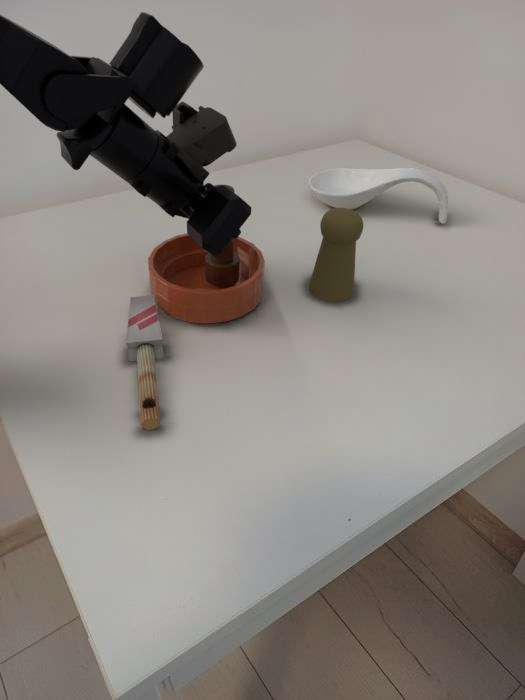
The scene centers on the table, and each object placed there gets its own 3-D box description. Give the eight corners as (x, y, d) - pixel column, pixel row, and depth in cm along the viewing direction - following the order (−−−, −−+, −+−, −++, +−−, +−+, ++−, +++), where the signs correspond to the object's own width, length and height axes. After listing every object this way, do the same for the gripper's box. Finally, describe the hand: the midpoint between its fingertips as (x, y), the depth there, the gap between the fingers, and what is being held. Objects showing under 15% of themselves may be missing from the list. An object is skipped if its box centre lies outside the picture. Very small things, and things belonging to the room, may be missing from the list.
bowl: (138, 319, 62) (133, 285, 59) (168, 258, 73) (165, 226, 69) (254, 333, 61) (256, 298, 58) (267, 269, 72) (270, 237, 68)
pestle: (218, 290, 65) (217, 201, 57) (198, 274, 67) (195, 186, 59) (246, 280, 67) (249, 192, 59) (226, 264, 69) (226, 178, 61)
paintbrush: (157, 285, 62) (169, 413, 48) (159, 302, 64) (171, 431, 50) (124, 287, 61) (127, 418, 47) (127, 305, 63) (130, 435, 49)
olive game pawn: (306, 298, 67) (316, 221, 60) (311, 273, 72) (321, 199, 64) (352, 305, 66) (368, 228, 59) (354, 279, 71) (369, 205, 64)
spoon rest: (300, 210, 86) (304, 168, 81) (313, 183, 94) (318, 143, 90) (445, 235, 82) (458, 193, 77) (445, 205, 90) (457, 164, 86)
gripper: (236, 113, 44) (321, 207, 56) (147, 63, 56) (233, 150, 68) (158, 218, 46) (257, 287, 58) (87, 148, 57) (182, 218, 69)
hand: (231, 229), depth 63 cm, fingers closed on pestle, 3 cm apart
